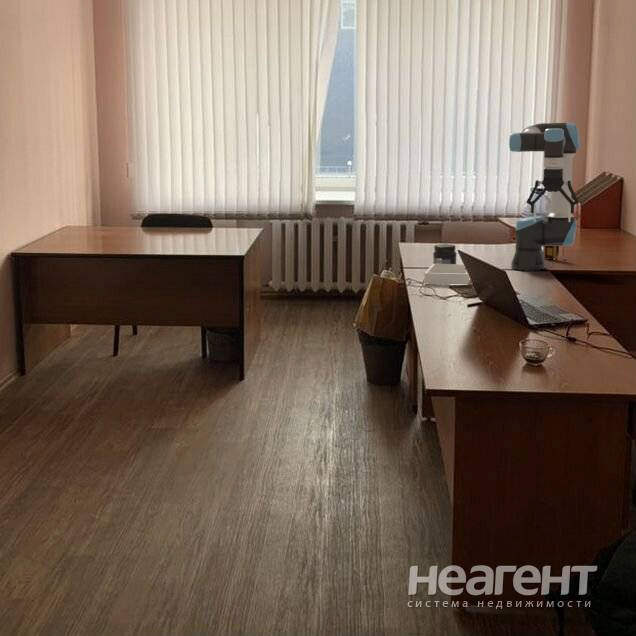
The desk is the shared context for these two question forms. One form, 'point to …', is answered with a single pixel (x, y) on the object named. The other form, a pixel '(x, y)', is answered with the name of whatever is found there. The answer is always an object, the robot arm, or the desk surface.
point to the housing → (446, 274)
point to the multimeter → (551, 252)
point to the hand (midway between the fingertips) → (551, 221)
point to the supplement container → (444, 254)
